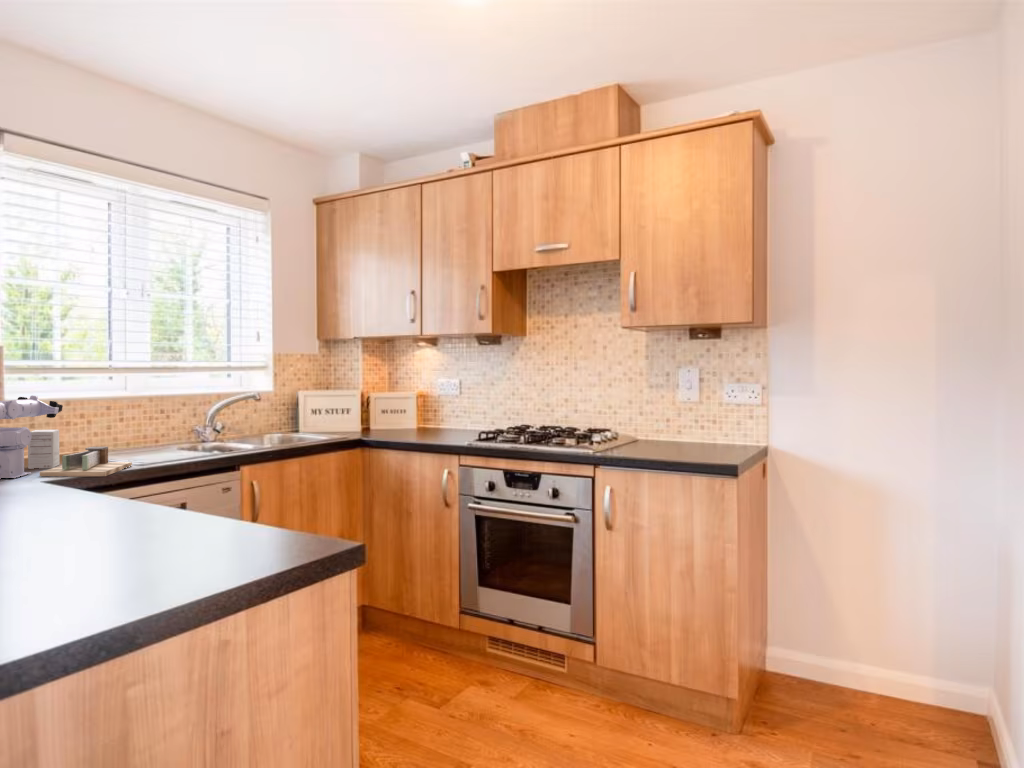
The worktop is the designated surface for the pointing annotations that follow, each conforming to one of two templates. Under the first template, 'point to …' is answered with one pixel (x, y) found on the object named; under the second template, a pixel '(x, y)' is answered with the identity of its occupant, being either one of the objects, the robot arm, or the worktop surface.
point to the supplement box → (43, 449)
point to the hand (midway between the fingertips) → (49, 406)
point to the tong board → (97, 470)
